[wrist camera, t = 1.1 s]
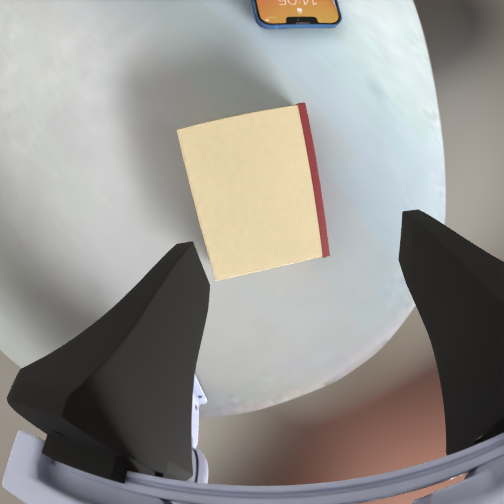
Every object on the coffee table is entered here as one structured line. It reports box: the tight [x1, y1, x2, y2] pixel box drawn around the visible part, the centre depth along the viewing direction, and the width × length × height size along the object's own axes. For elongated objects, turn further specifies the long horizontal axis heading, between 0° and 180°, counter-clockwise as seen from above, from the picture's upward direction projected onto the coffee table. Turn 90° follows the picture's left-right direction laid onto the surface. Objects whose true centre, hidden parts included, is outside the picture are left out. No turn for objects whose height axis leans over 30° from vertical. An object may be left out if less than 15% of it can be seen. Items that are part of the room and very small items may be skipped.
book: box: [177, 103, 329, 281], centre depth 23 cm, size 12×9×3 cm
